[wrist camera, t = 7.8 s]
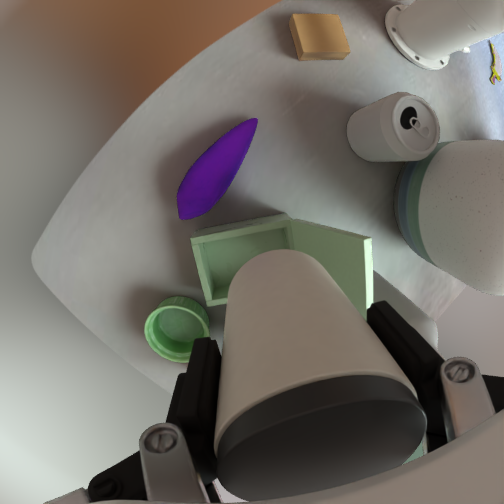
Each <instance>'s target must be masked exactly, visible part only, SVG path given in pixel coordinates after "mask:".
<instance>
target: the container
mask: <svg viewBox="0 0 504 504" xmlns="http://www.w3.org/2000/svg"><path fill="white" fill-rule="evenodd" d="M426 428H427V417H426V413H425V411H424V409H423V407H422V406H421V404H420V403H419V401H418V398H417V393H416V391H415V389H414V387H413V385H412V384H411V382H410V381H409V380H408V378H407V377H406V375H405V374H404V372H403V371H402V370H401V368H400V367H399V365H398V364H397V363H396V361H395V360H394V359H393V357H392V356H391V354H390V353H389V352H388V350H387V349H386V348H385V346H384V345H383V343H382V342H381V341H380V339H379V338H378V337H377V335H376V334H375V333H374V331H373V330H372V329H371V327H370V326H369V325H368V323H367V322H366V321H365V319H364V318H363V317H362V316H361V314H360V313H359V312H358V310H357V309H356V308H355V306H354V305H353V304H352V303H351V301H350V300H349V299H348V297H347V296H346V295H345V294H344V292H343V291H342V290H341V289H340V287H339V286H338V285H337V283H336V282H335V281H334V280H333V278H332V277H331V276H330V275H329V273H328V272H327V271H326V270H325V268H324V267H323V266H322V265H321V264H320V263H319V262H318V261H317V260H315V259H314V258H313V257H311V256H309V255H307V254H305V253H303V252H299V251H296V250H289V249H279V250H272V251H268V252H265V253H262V254H259V255H257V256H256V257H254V258H252V259H251V260H249V261H248V262H246V263H245V264H244V265H243V266H242V267H241V268H240V269H239V271H238V272H237V273H236V275H235V276H234V278H233V280H232V282H231V284H230V287H229V291H228V298H227V307H226V317H225V327H224V337H223V347H222V357H221V368H220V379H219V390H218V402H217V413H216V426H215V438H214V451H215V455H216V458H217V468H216V472H217V478H218V480H219V481H220V483H221V485H222V486H223V487H224V488H225V489H226V490H227V491H228V492H230V493H231V494H233V495H235V496H236V497H238V498H241V499H243V500H246V501H249V502H251V501H262V500H270V499H278V498H285V497H291V496H297V495H302V494H308V493H313V492H317V491H322V490H326V489H330V488H334V487H338V486H342V485H345V484H349V483H352V482H356V481H359V480H362V479H365V478H368V477H371V476H374V475H377V474H380V473H383V472H385V471H388V470H391V469H393V468H396V467H398V466H401V465H402V464H403V463H404V462H405V461H406V460H407V459H408V458H409V457H410V456H411V455H412V454H413V452H414V451H415V450H416V449H417V447H418V446H419V444H420V443H421V441H422V439H423V437H424V435H425V432H426Z"/></svg>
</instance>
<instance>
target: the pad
mask: <svg viewBox="0 0 504 504" xmlns="http://www.w3.org/2000/svg"><path fill="white" fill-rule="evenodd" d="M289 27H290V30H291V34H292V37H293V41H294V44H295V48H296V52H297V56H298V59H299V61H304V60H343V59H344V58H345V57H346V56H347V55H348V54H349V53H350V49H349V45H348V42H347V39H346V36H345V33H344V30H343V27H342V24H341V22H340V19H339V16H338V15H336V14H292V16H291V19H290V21H289Z"/></svg>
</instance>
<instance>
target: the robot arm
mask: <svg viewBox="0 0 504 504" xmlns="http://www.w3.org/2000/svg"><path fill="white" fill-rule="evenodd" d="M385 25H386V29H387V32H388V34H389V36H390V38H391V40H392V41H393V43H394V45H395V46H396V47H397V48H398V50H399V51H400V52H401V53H402V54H403V55H404V56H405V57H406V58H407V59H409V60H410V61H411V62H413V63H414V64H416V65H417V66H419V67H422V68H424V69H428V70H438V69H441V68H443V67H444V66H446V65H447V63H448V61H449V57H450V54H451V53H453V52H455V51H458V50H459V51H461V52H464V53H469V52H470V47H469V46H470V45H472V44H475V43H477V42H480V41H482V40H485V39H487V38H490V37H493V36H495V35H498V34H501V33H503V32H504V0H415V1H414V2H413V3H412V4H411V5H396V6H393V7H392V8H391V9H390V10H389V11H388V12H387V14H386V16H385ZM367 323H368V325H369V326H370V327H371V329H372V330H373V331H374V333H375V334H376V335H377V337H378V338H379V339H380V341H381V342H382V343H383V345H384V346H385V348H386V349H387V350H388V352H389V353H390V354H391V356H392V357H393V359H394V360H395V361H396V363H397V364H398V365H399V367H400V368H401V370H402V371H403V372H404V374H405V375H406V377H407V378H408V380H409V381H410V382H411V384H412V385H413V387H414V389H415V391H416V393H417V398H418V401H419V403H420V404H421V406H422V407H423V409H424V411H425V413H426V417H427V428H426V432H425V435H424V437H423V439H422V445H423V456H422V457H419V458H417V459H415V460H413V461H410V462H408V463H406V464H403V465H401V466H398V467H396V468H393V469H391V470H388V471H385V472H383V473H380V474H377V475H374V476H371V477H368V478H365V479H362V480H359V481H356V482H352V483H349V484H345V485H342V486H338V487H334V488H330V489H326V490H322V491H317V492H313V493H308V494H302V495H297V496H291V497H285V498H278V499H270V500H262V501H251V502H240V503H238V502H237V503H223V501H222V499H221V496H220V494H219V491H218V489H217V487H216V484H215V482H214V480H215V479H216V478H217V472H216V468H217V458H216V455H215V451H214V438H215V426H216V413H217V402H218V390H219V379H220V368H221V354H220V351H219V348H218V344H217V341H216V340H211V338H210V337H203V338H196V339H195V340H194V343H193V347H192V351H191V355H190V359H189V363H188V367H187V371H186V373H180V374H179V375H178V378H177V381H176V385H175V389H174V392H173V396H172V400H171V404H170V408H169V411H168V415H167V419H166V423H159V424H155V425H153V426H151V427H149V428H148V429H146V430H145V431H144V432H143V433H142V435H141V437H140V439H139V448H140V450H139V451H138V452H136V453H134V454H133V455H131V456H129V457H128V458H126V459H124V460H123V461H121V462H119V463H118V464H116V465H114V466H112V467H111V468H109V469H107V470H105V471H103V472H101V473H99V474H98V475H96V476H95V477H93V479H92V480H91V481H90V483H89V486H88V489H86V490H85V489H84V488H80V489H78V490H75V491H73V492H70V493H68V494H65V495H63V496H61V497H58V498H55V499H53V500H51V501H48V502H45V503H44V504H504V377H498V376H489V375H481V373H480V370H479V368H478V367H477V365H476V363H475V362H473V361H472V360H470V359H468V358H465V357H454V358H450V359H448V360H446V361H445V360H444V359H443V358H442V357H441V356H440V355H439V354H438V353H437V352H436V351H435V349H434V348H433V347H432V346H431V345H430V344H429V343H428V342H427V341H426V340H425V339H424V338H423V337H422V336H421V335H420V334H419V333H418V331H417V330H416V329H415V328H414V327H412V326H410V325H409V323H408V322H407V321H406V320H405V319H404V318H403V317H402V316H401V315H400V314H399V313H398V312H397V311H396V310H395V309H394V308H393V307H392V306H391V305H390V304H389V303H388V302H387V301H386V300H382V301H379V302H375V303H372V304H371V305H370V308H367Z"/></svg>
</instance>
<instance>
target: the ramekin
mask: <svg viewBox="0 0 504 504" xmlns="http://www.w3.org/2000/svg"><path fill="white" fill-rule="evenodd" d="M144 333H145V337H146V340H147V342H148V344H149V345H150V347H151V348H152V349H153V350H154V351H155V352H156V353H157V354H158V355H160V356H161V357H163V358H165V359H167V360H170V361H173V362H179V363H186V362H189V359H190V355H191V351H192V347H193V343H194V340H195V339H196V338H203V337H210V330H209V319H208V315H207V313H206V311H205V310H204V308H203V307H202V306H201V305H200V304H199V303H197V302H196V301H194V300H192V299H190V298H187V297H181V296H176V297H170V298H167V299H165V300H164V301H162V302H161V303H160V304H159V305H158V307H157V308H156V309H155V310H153V311H152V312H151V313H150V315H149V316H148V317H147V319H146V322H145V325H144ZM210 338H211V337H210Z"/></svg>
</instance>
